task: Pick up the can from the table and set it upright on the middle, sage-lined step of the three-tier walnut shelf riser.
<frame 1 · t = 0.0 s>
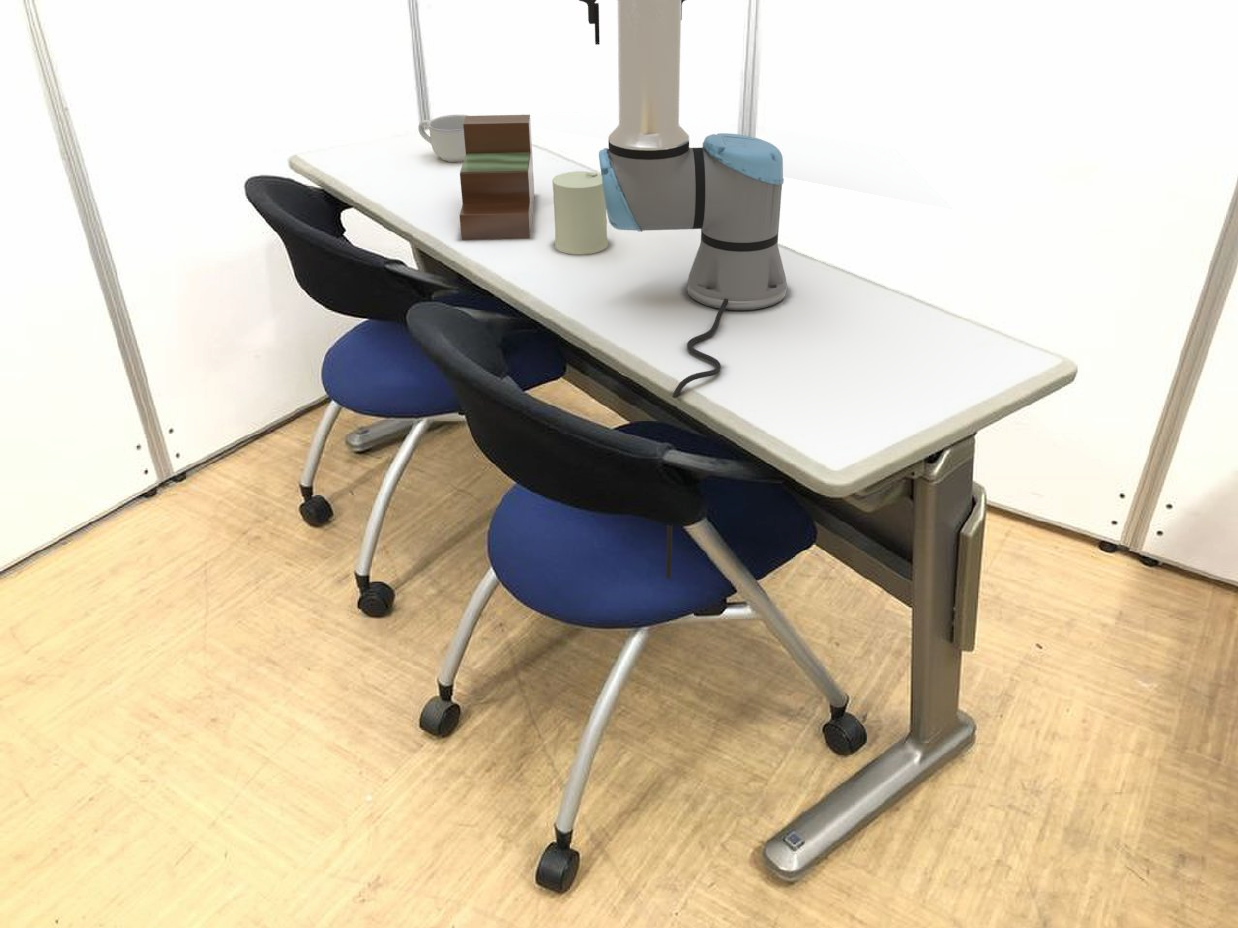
hand: (634, 42, 189), 28 cm above the table, tool pointing down, fingers open, 13 cm apart
teacup: (451, 158, 228), on the table
shelf riser: (500, 216, 194), on the table
can: (581, 246, 181), on the table
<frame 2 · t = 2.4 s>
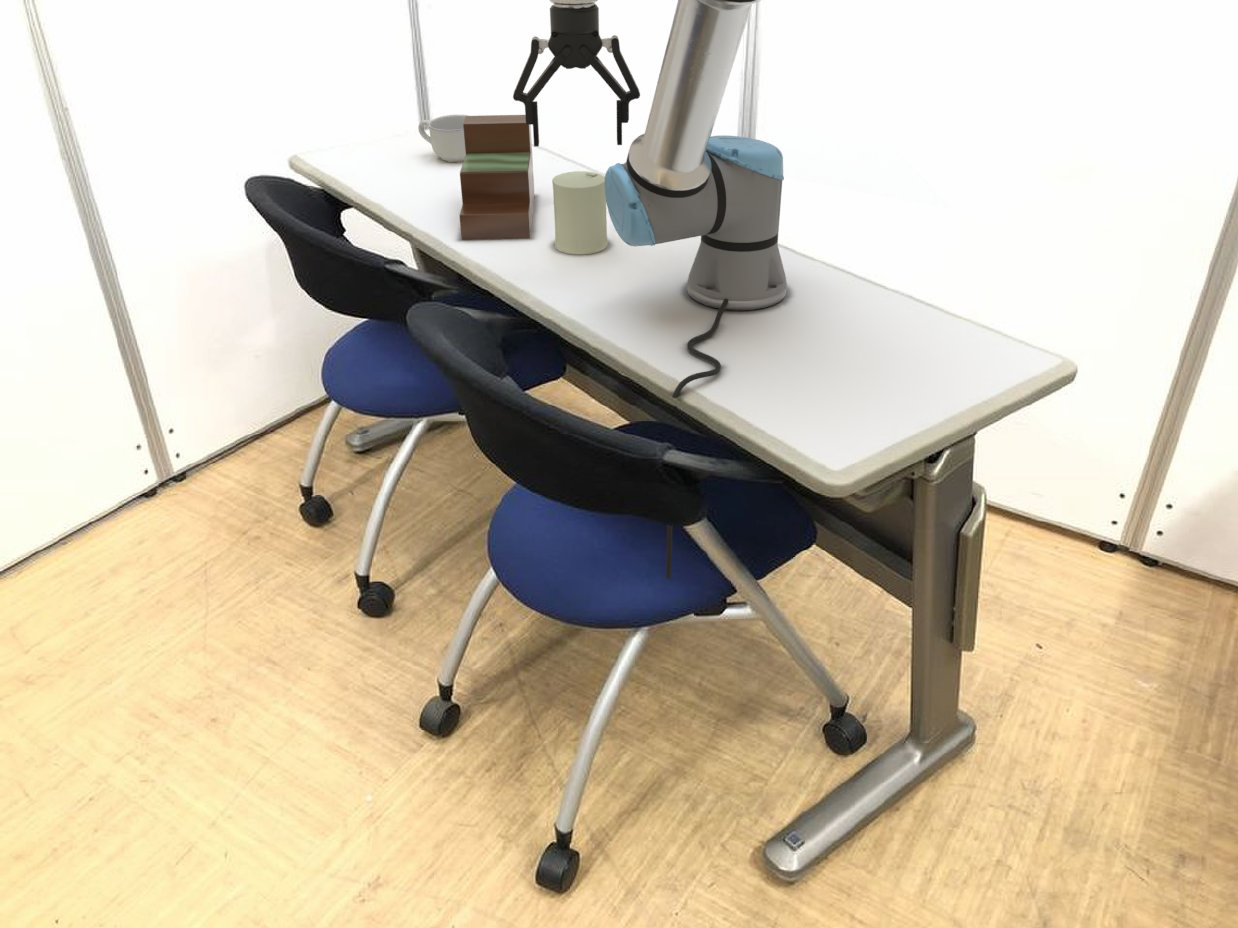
hand: (578, 144, 172), 17 cm above the table, tool pointing down, fingers open, 13 cm apart
nothing on the table moved.
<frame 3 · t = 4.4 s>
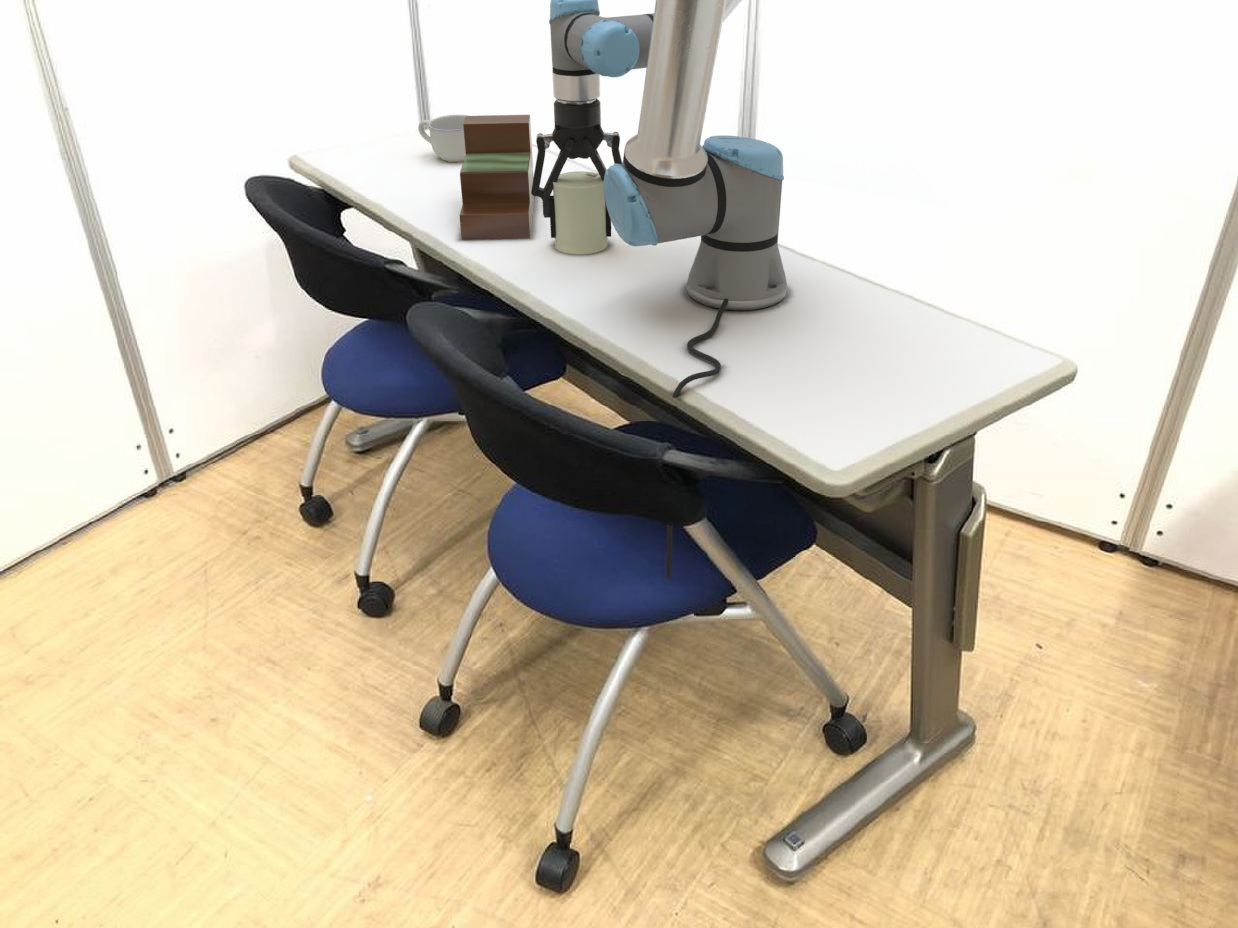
hand: (581, 234, 180), 2 cm above the table, tool pointing down, fingers closed on can, 9 cm apart
can: (581, 246, 181), on the table, touching gripper
everything else where it was.
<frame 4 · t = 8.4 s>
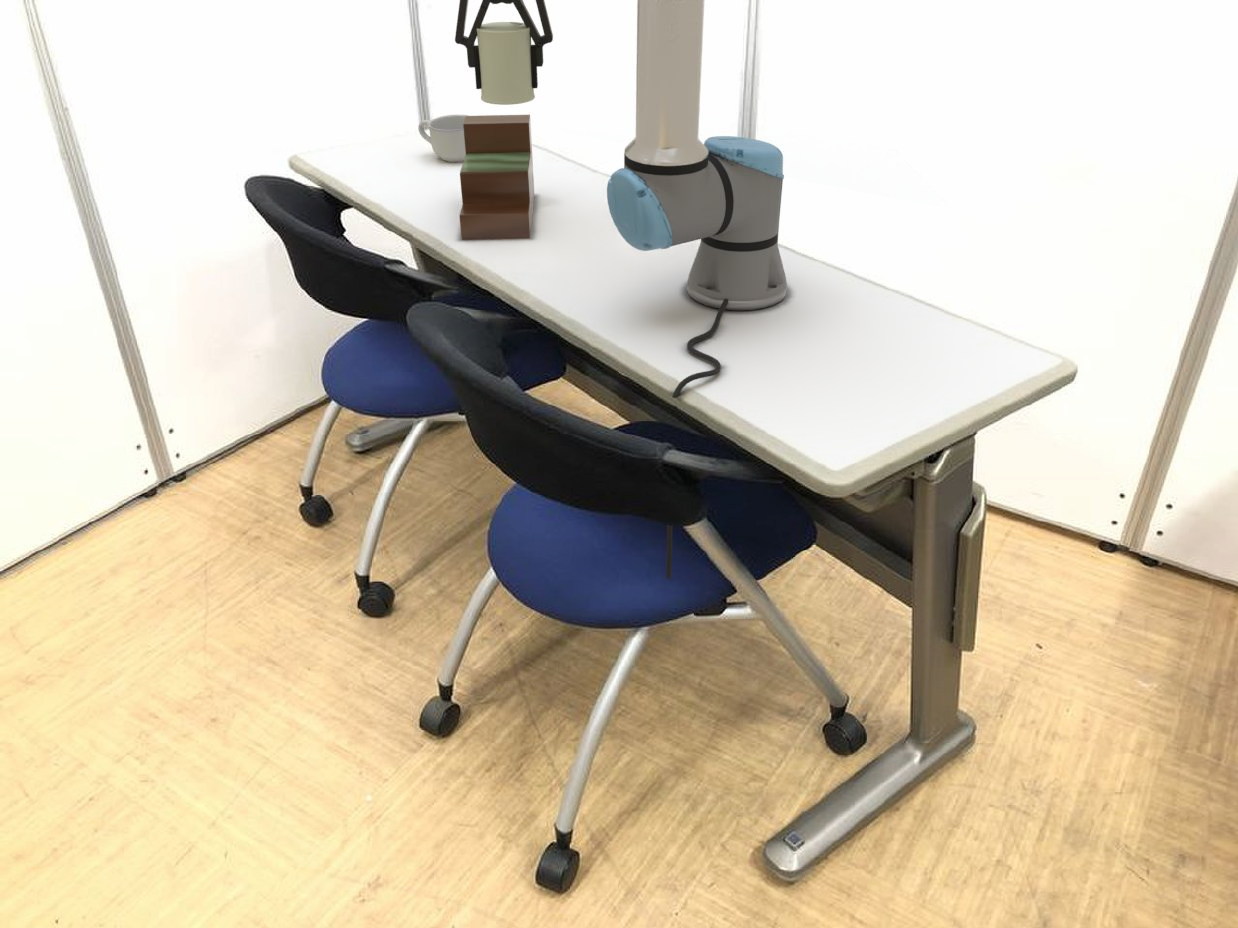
hand: (507, 86, 179), 24 cm above the table, tool pointing down, fingers closed on can, 9 cm apart
can: (508, 99, 180), point 22 cm above the table, touching gripper
everything else where it was.
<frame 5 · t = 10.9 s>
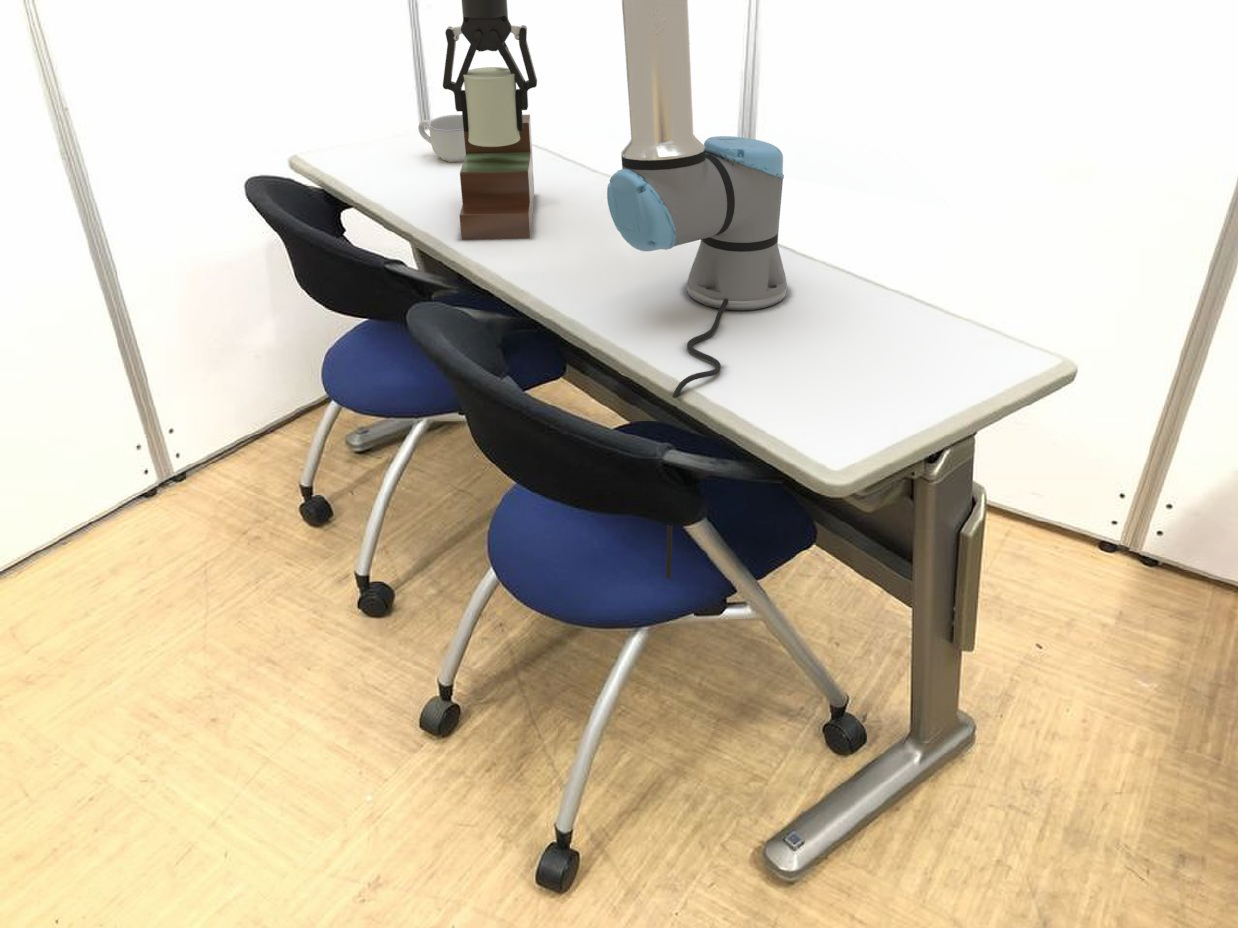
hand: (493, 129, 185), 16 cm above the table, tool pointing down, fingers closed on can, 9 cm apart
can: (494, 141, 187), point 14 cm above the table, touching gripper
everything else where it was.
when the fingers open (12 cm above the table, at t = 12.5 s): can stays where it is, resting on shelf riser.
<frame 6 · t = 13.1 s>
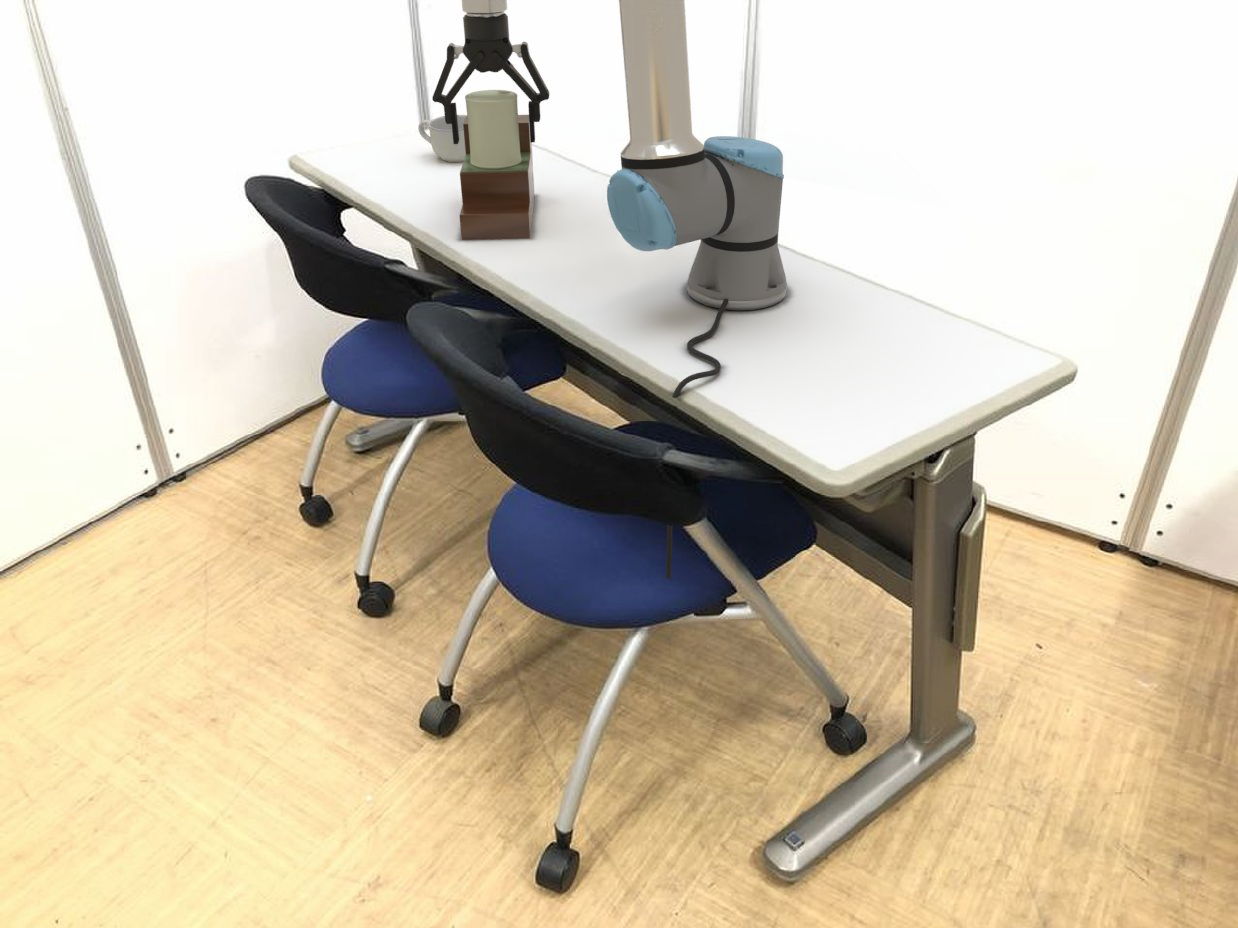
hand: (494, 141, 187), 14 cm above the table, tool pointing down, fingers open, 13 cm apart
can: (496, 162, 189), point 10 cm above the table, touching shelf riser
everything else where it was.
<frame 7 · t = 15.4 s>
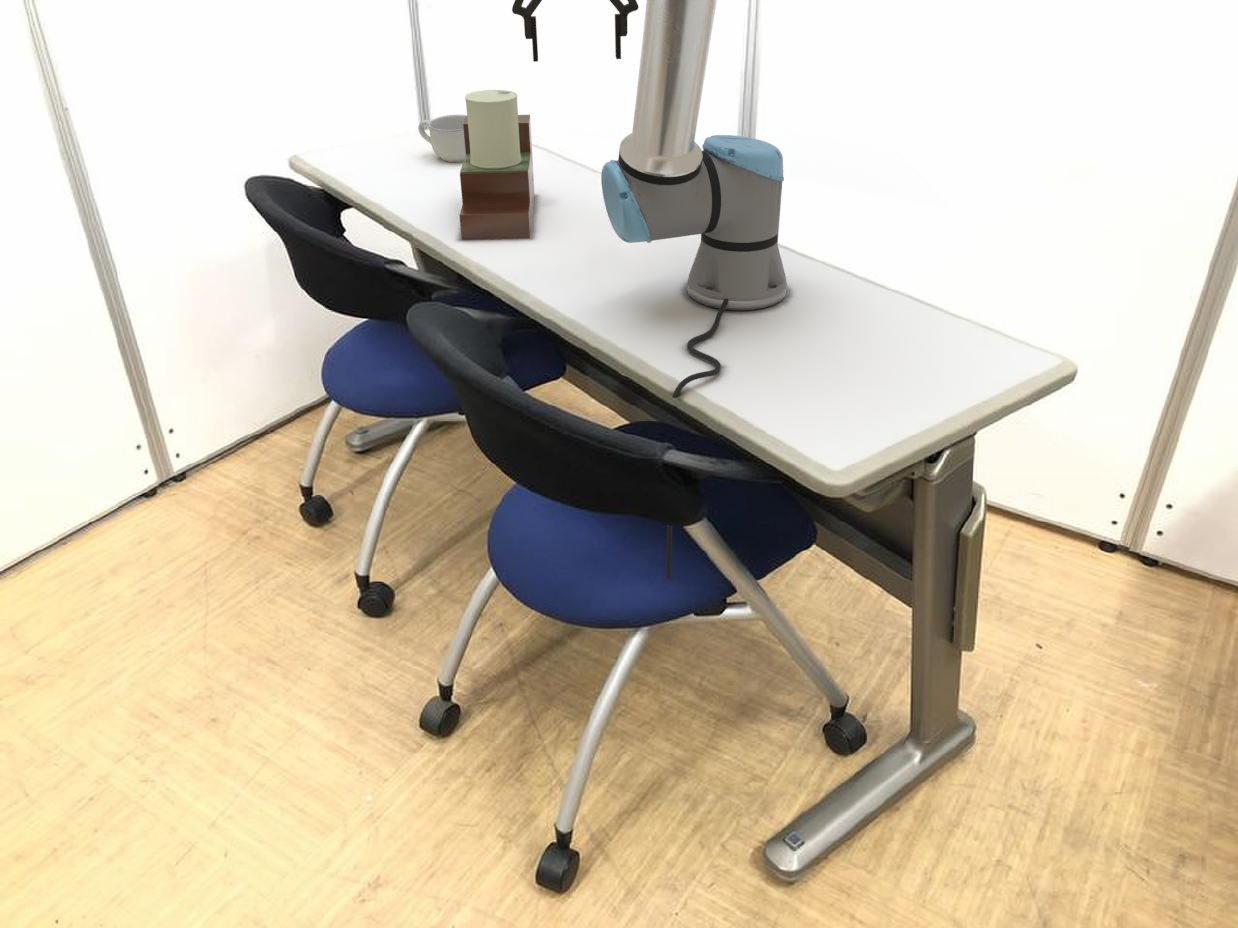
hand: (577, 59, 172), 29 cm above the table, tool pointing down, fingers open, 13 cm apart
nothing on the table moved.
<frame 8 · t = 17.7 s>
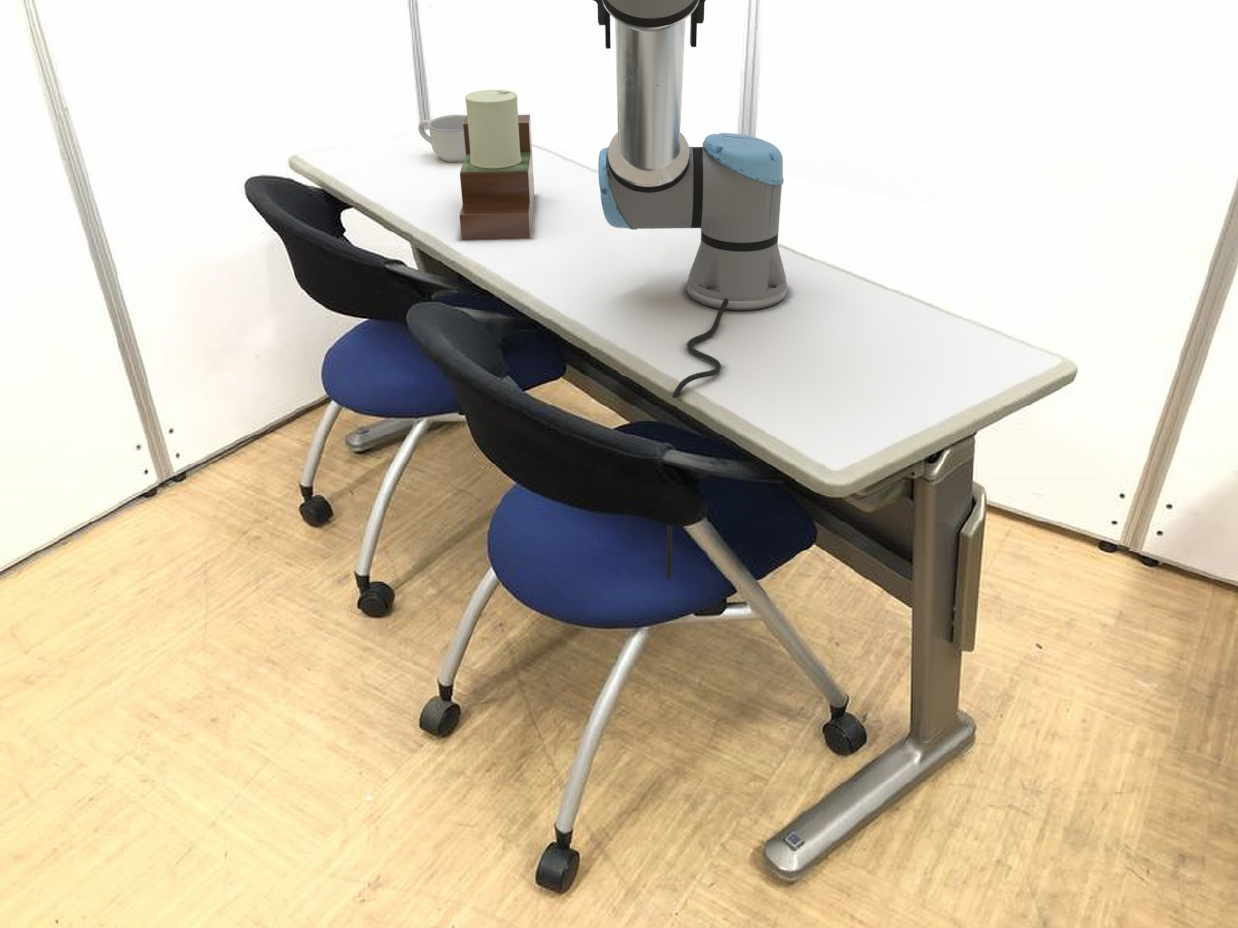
hand: (650, 46, 167), 32 cm above the table, tool pointing down, fingers open, 13 cm apart
nothing on the table moved.
at the end: can inside the target area on the shelf riser (0.0 cm from its centre), point 10.0 cm above the shelf riser's base; can tilted 0°; the gripper is holding nothing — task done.
